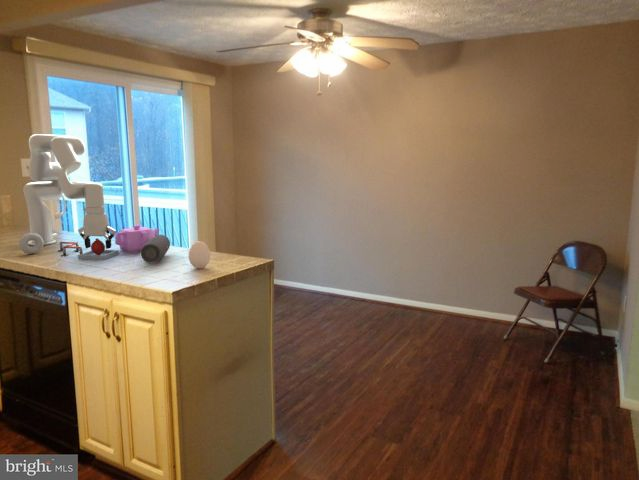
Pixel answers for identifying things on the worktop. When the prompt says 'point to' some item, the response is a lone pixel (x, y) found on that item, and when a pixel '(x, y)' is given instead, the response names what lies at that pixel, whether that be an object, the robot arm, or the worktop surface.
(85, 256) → the dish
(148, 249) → the bluetooth speaker
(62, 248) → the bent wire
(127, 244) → the teakettle
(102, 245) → the onion
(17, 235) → the worktop surface
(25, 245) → the donut
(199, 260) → the egg
